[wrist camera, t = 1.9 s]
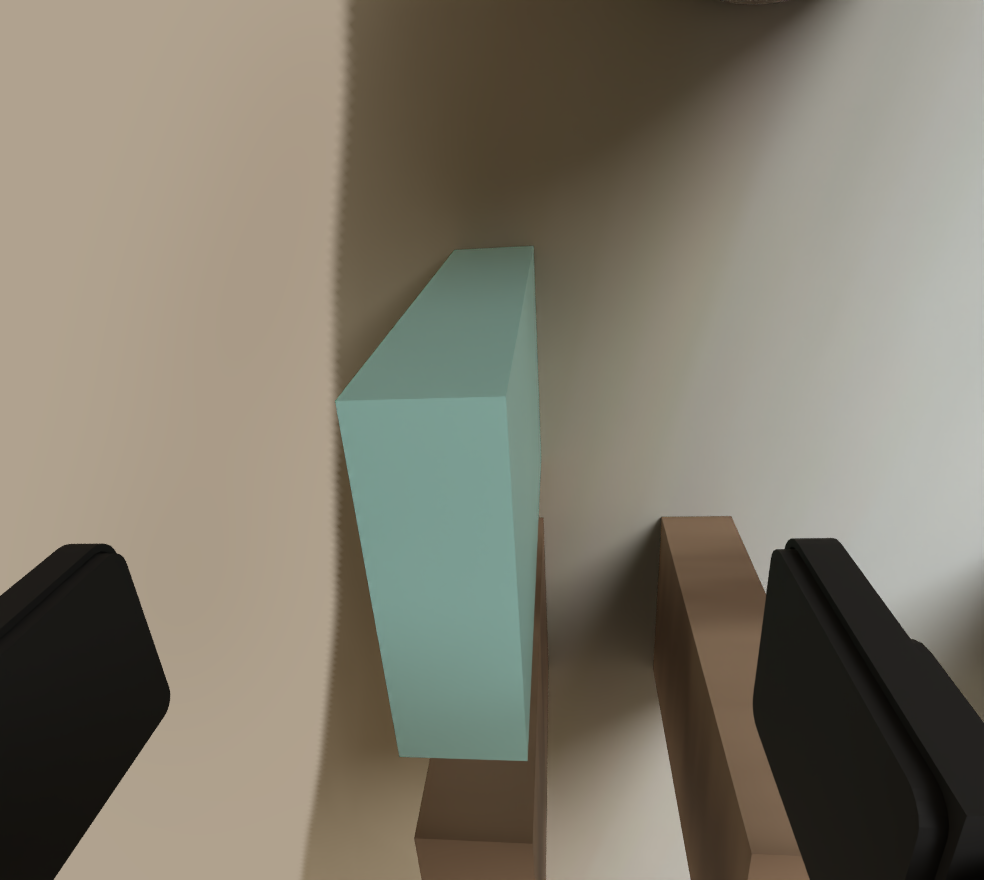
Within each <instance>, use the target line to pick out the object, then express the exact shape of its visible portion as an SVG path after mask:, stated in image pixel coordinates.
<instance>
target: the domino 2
mask: <svg viewBox="0 0 984 880" xmlns="http://www.w3.org/2000/svg"><path fill="white" fill-rule="evenodd" d="M765 600H766V593H765V591H764V589H763V587H762V584H761V582H760V580H759V578H758V575H757V573H756V571H755V569H754V566H753V564H752V562H751V560H750V557H749V555H748V553H747V551H746V548H745V546H744V544H743V542H742V539H741V537H740V535H739V533H738V530H737V528H736V526H735V524H734V521H733V519H732V517H731V516H711V517H662V518H661V536H660V554H659V573H658V591H657V609H656V627H655V645H654V663H653V671H654V676H655V682H656V687H657V693H658V699H659V704H660V710H661V715H662V721H663V727H664V732H665V738H666V743H667V749H668V755H669V760H670V766H671V771H672V777H673V783H674V788H675V794H676V799H677V805H678V811H679V816H680V822H681V828H682V833H683V839H684V844H685V850H686V856H687V861H688V867H689V872H690V878H691V880H810V879H809V876H808V873H807V870H806V868H805V865H804V862H803V859H802V856H801V853H800V851H799V848H798V845H797V842H796V839H795V836H794V834H793V831H792V828H791V825H790V822H789V819H788V817H787V814H786V811H785V808H784V805H783V802H782V799H781V797H780V794H779V791H778V788H777V785H776V782H775V780H774V777H773V774H772V771H771V768H770V765H769V763H768V760H767V757H766V754H765V751H764V748H763V746H762V743H761V740H760V737H759V734H758V731H757V728H756V725H755V721H754V715H753V692H754V684H755V677H756V669H757V661H758V654H759V646H760V638H761V631H762V623H763V616H764V608H765Z"/></svg>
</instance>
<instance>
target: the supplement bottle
mask: <svg viewBox="0 0 984 880" xmlns="http://www.w3.org/2000/svg"><path fill="white" fill-rule="evenodd" d="M721 1H726V2H731V3H737V4H770V3H776V2H782V1H788V0H721Z"/></svg>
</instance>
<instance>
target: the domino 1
mask: <svg viewBox="0 0 984 880" xmlns="http://www.w3.org/2000/svg"><path fill="white" fill-rule="evenodd" d="M548 677H549V663H548V635H547V607H546V579H545V551H544V523H543V518H539V519H538V541H537V563H536V585H535V607H534V630H533V652H532V674H531V696H530V718H529V741H528V761H510V760H480V759H450V758H430V762H429V767H428V772H427V777H426V782H425V787H424V792H423V797H422V802H421V807H420V812H419V817H418V822H417V827H416V832H415V837H414V839H415V845H416V851H417V856H418V862H419V867H420V873H421V878H422V880H546V823H547V750H548Z"/></svg>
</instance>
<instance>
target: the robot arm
mask: <svg viewBox="0 0 984 880" xmlns="http://www.w3.org/2000/svg"><path fill="white" fill-rule="evenodd" d="M169 702H170V690H169V686H168V683H167V680H166V677H165V674H164V671H163V668H162V665H161V662H160V659H159V657H158V654H157V651H156V648H155V645H154V642H153V639H152V636H151V633H150V630H149V627H148V624H147V622H146V619H145V616H144V613H143V610H142V607H141V604H140V601H139V598H138V595H137V592H136V589H135V587H134V583H133V581H132V578H131V575H130V572H129V569H128V566H127V563H126V561H125V559H124V558H123V557H122V556H121V555H120V554H117V553H116V552H115V550H114V549H113V548H112V547H111V546H109V545H107V544H68V545H64V546H62V547H60V548H58V549H57V550H56V551H55V552H53V553H52V554H51V555H50V556H49V557H47V558H46V559H45V560H44V561H42V562H41V563H40V564H39V565H38V566H36V567H35V568H34V569H33V570H31V571H30V572H29V573H28V574H27V575H25V576H24V577H23V578H22V579H21V580H19V581H18V582H17V583H16V584H14V585H13V586H12V587H11V588H9V589H8V590H7V591H6V592H4V593H3V594H2V595H1V596H0V880H54V878H55V877H56V875H57V874H58V872H59V871H60V869H61V868H62V866H63V865H64V863H65V862H66V860H67V859H68V858H69V856H70V855H71V853H72V852H73V850H74V849H75V847H76V846H77V844H78V843H79V841H80V840H81V838H82V837H83V835H84V834H85V832H86V831H87V829H88V828H89V827H90V825H91V824H92V822H93V821H94V819H95V818H96V816H97V815H98V813H99V812H100V810H101V809H102V807H103V806H104V804H105V803H106V801H107V800H108V799H109V797H110V796H111V794H112V793H113V791H114V790H115V788H116V787H117V785H118V784H119V782H120V781H121V779H122V778H123V776H124V775H125V773H126V772H127V771H128V769H129V768H130V766H131V765H132V763H133V762H134V760H135V758H136V757H137V756H138V754H139V753H140V751H141V750H142V748H143V747H144V745H145V744H146V742H147V741H148V740H149V738H150V737H151V735H152V733H153V732H154V731H155V729H156V728H157V726H158V725H159V723H160V722H161V720H162V719H163V717H164V716H165V714H166V712H167V710H168V707H169ZM753 715H754V721H755V725H756V728H757V731H758V734H759V737H760V740H761V743H762V746H763V748H764V751H765V754H766V757H767V760H768V763H769V765H770V768H771V771H772V774H773V777H774V780H775V782H776V785H777V788H778V791H779V794H780V797H781V799H782V802H783V805H784V808H785V811H786V814H787V817H788V819H789V822H790V825H791V828H792V831H793V834H794V836H795V839H796V842H797V845H798V848H799V851H800V853H801V856H802V859H803V862H804V865H805V868H806V870H807V873H808V876H809V879H810V880H984V722H983V721H982V720H981V718H980V717H979V716H978V714H977V713H976V712H975V710H974V709H973V708H972V706H971V705H970V704H969V702H968V701H967V700H966V698H965V697H964V696H963V694H962V693H961V692H960V690H959V689H958V688H957V686H956V685H955V684H954V682H953V681H952V680H951V678H950V677H949V676H948V674H947V673H946V672H945V670H944V669H943V668H942V666H941V665H940V664H939V662H938V661H937V660H936V658H935V657H934V656H933V654H932V653H931V652H930V651H929V650H928V649H927V648H926V647H925V646H924V645H923V644H922V643H920V642H918V641H916V640H914V639H910V638H909V636H908V635H907V633H906V632H905V631H904V629H903V628H902V627H901V625H900V624H899V622H898V621H897V620H896V618H895V617H894V616H893V614H892V613H891V611H890V610H889V609H888V607H887V606H886V605H885V603H884V602H883V600H882V599H881V598H880V596H879V595H878V594H877V592H876V591H875V590H874V588H873V587H872V585H871V584H870V583H869V581H868V580H867V579H866V577H865V576H864V574H863V573H862V572H861V570H860V569H859V568H858V566H857V565H856V563H855V562H854V561H853V559H852V558H851V557H850V555H849V554H848V552H847V551H846V550H845V548H844V547H843V546H842V544H841V543H840V542H839V541H838V540H837V539H834V538H800V539H790V540H788V542H787V544H786V546H785V549H776V550H774V551H773V553H772V557H771V562H770V570H769V577H768V585H767V593H766V600H765V608H764V616H763V623H762V631H761V638H760V646H759V654H758V661H757V669H756V677H755V684H754V692H753Z"/></svg>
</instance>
